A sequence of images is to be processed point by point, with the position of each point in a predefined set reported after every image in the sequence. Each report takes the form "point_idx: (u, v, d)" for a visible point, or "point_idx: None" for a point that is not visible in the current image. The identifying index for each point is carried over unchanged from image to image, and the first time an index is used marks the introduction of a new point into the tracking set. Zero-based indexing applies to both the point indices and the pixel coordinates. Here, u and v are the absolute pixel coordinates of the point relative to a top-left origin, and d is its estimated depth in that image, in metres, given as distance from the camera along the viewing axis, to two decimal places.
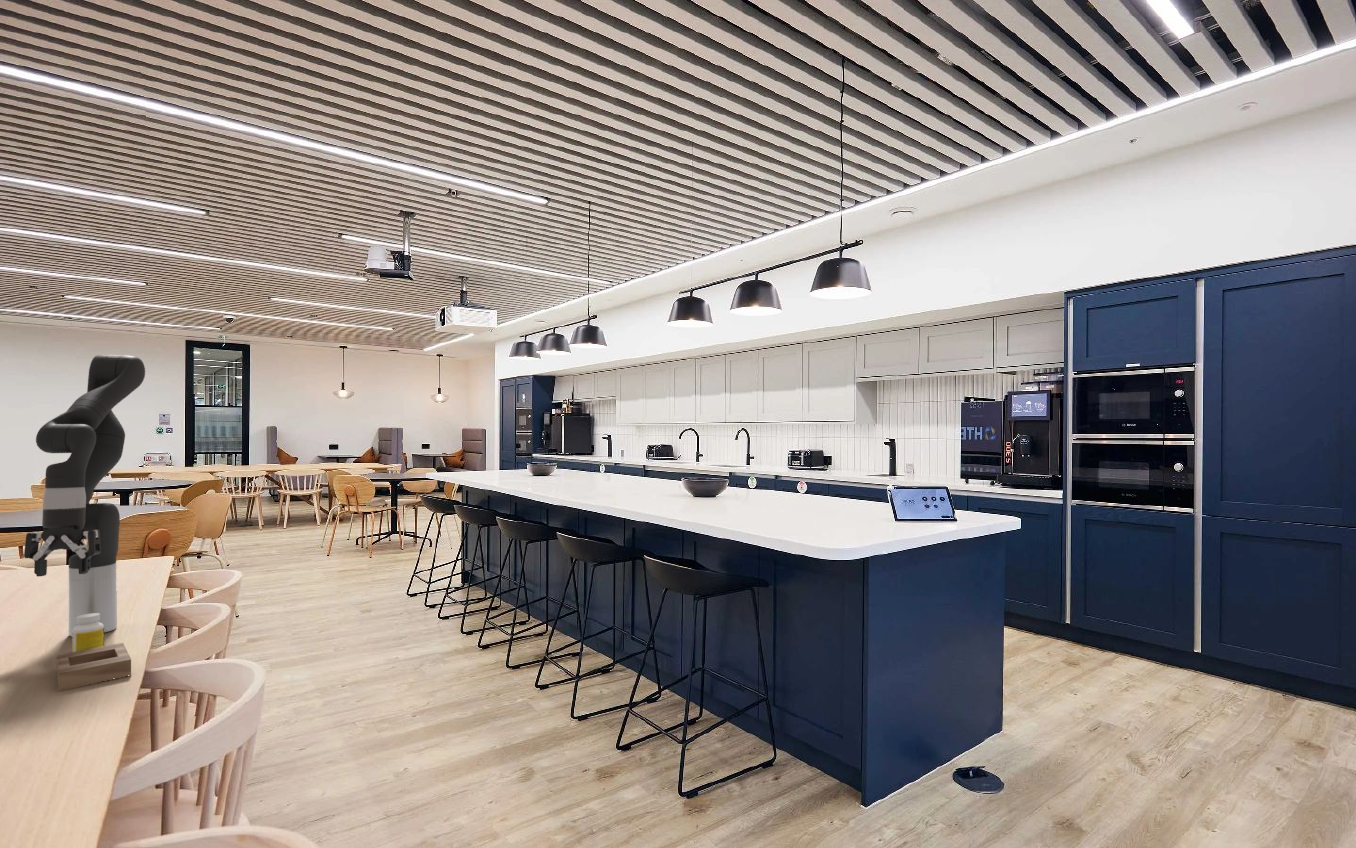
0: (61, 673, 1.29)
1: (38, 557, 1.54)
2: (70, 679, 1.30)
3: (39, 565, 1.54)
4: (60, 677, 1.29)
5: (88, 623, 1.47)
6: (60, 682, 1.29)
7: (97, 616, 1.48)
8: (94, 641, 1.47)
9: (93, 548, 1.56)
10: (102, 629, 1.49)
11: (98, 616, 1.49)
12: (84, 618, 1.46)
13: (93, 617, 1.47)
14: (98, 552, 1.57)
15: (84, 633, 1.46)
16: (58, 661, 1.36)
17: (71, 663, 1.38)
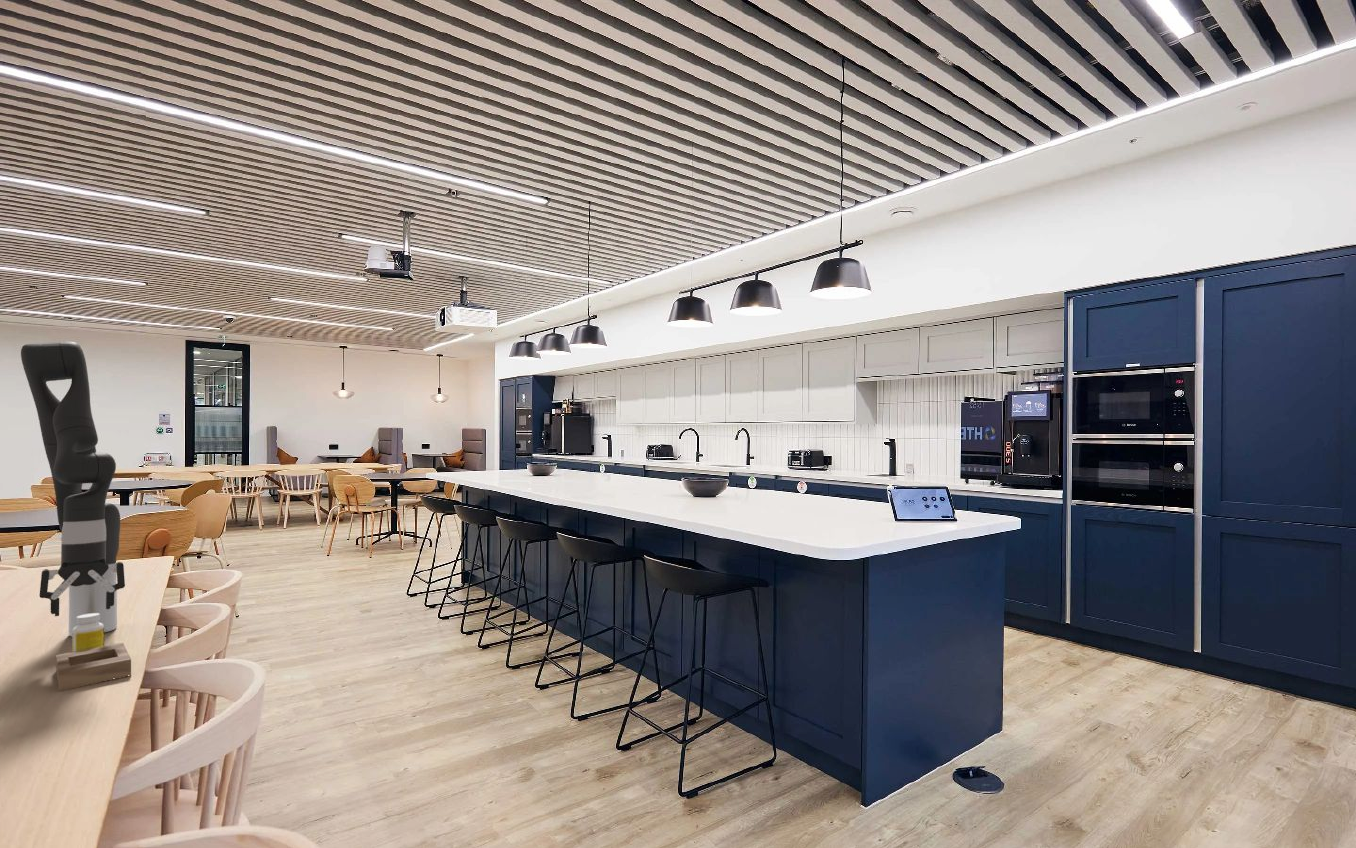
0: (61, 673, 1.29)
1: None
2: (70, 679, 1.30)
3: None
4: (60, 677, 1.29)
5: (87, 623, 1.47)
6: (60, 682, 1.29)
7: (97, 616, 1.48)
8: (94, 641, 1.47)
9: None
10: (102, 629, 1.49)
11: (98, 616, 1.49)
12: (84, 618, 1.46)
13: (93, 617, 1.47)
14: None
15: (84, 633, 1.46)
16: (58, 661, 1.36)
17: (71, 663, 1.38)
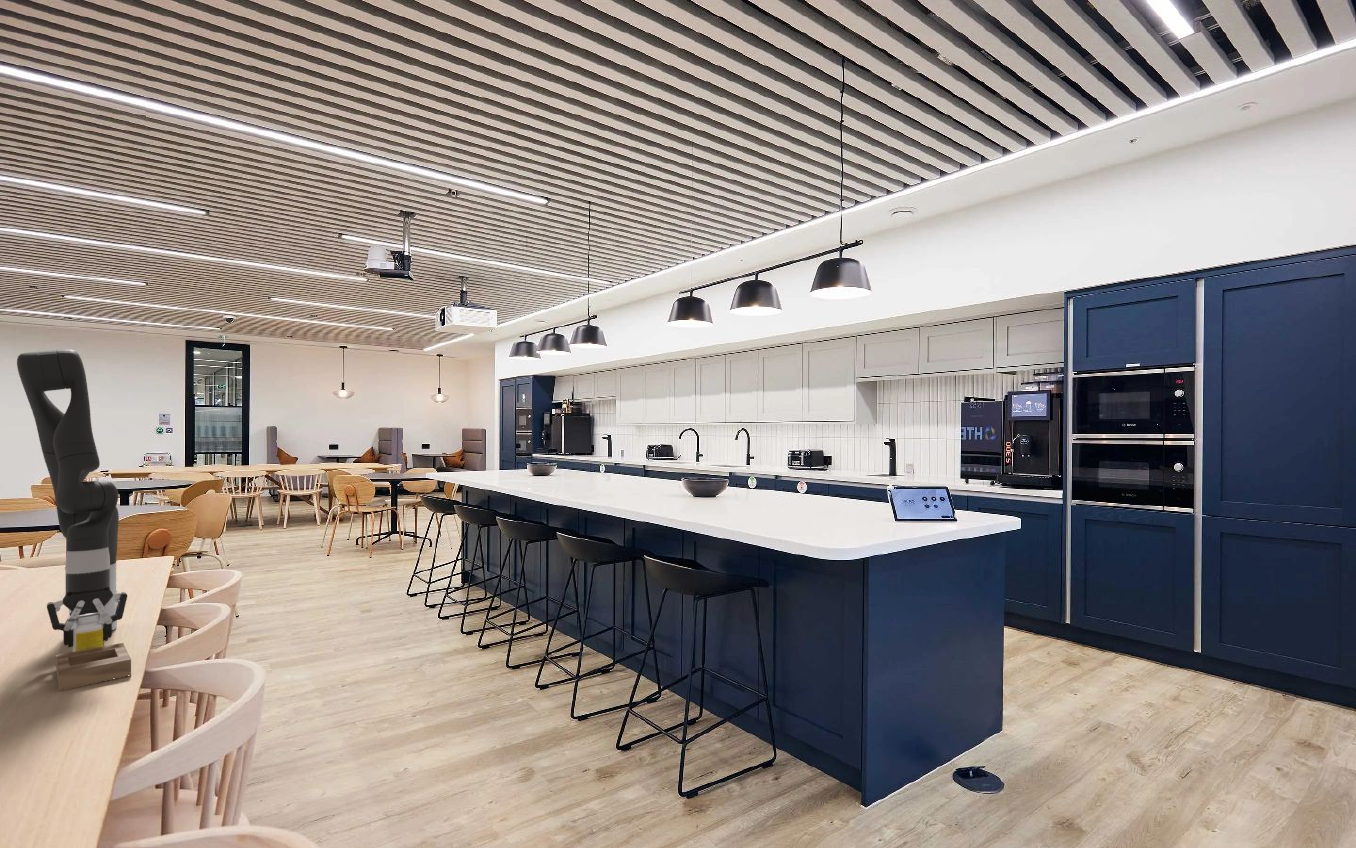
0: (61, 673, 1.29)
1: None
2: (70, 679, 1.30)
3: None
4: (60, 677, 1.29)
5: (87, 623, 1.47)
6: (60, 682, 1.29)
7: (97, 616, 1.48)
8: (94, 641, 1.47)
9: None
10: (102, 629, 1.49)
11: (98, 616, 1.49)
12: (84, 618, 1.46)
13: (93, 617, 1.47)
14: (53, 628, 1.44)
15: (84, 633, 1.46)
16: (58, 661, 1.36)
17: (71, 663, 1.38)
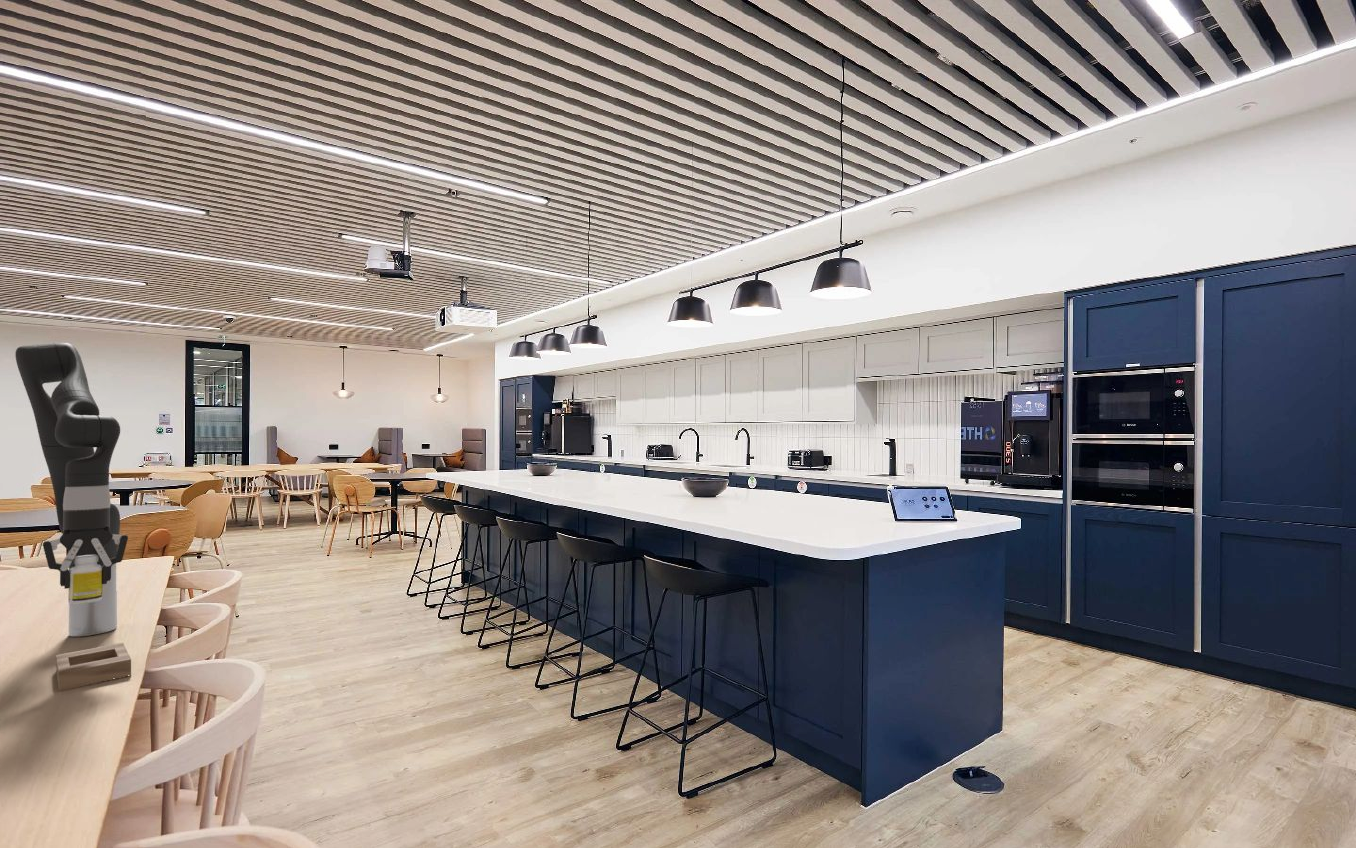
0: (61, 673, 1.29)
1: None
2: (70, 679, 1.30)
3: None
4: (60, 677, 1.29)
5: (85, 564, 1.39)
6: (60, 682, 1.29)
7: (95, 557, 1.40)
8: (92, 583, 1.39)
9: None
10: (101, 571, 1.41)
11: (97, 557, 1.41)
12: (81, 558, 1.38)
13: (91, 557, 1.40)
14: (49, 567, 1.36)
15: (82, 573, 1.38)
16: (58, 661, 1.36)
17: (71, 663, 1.38)
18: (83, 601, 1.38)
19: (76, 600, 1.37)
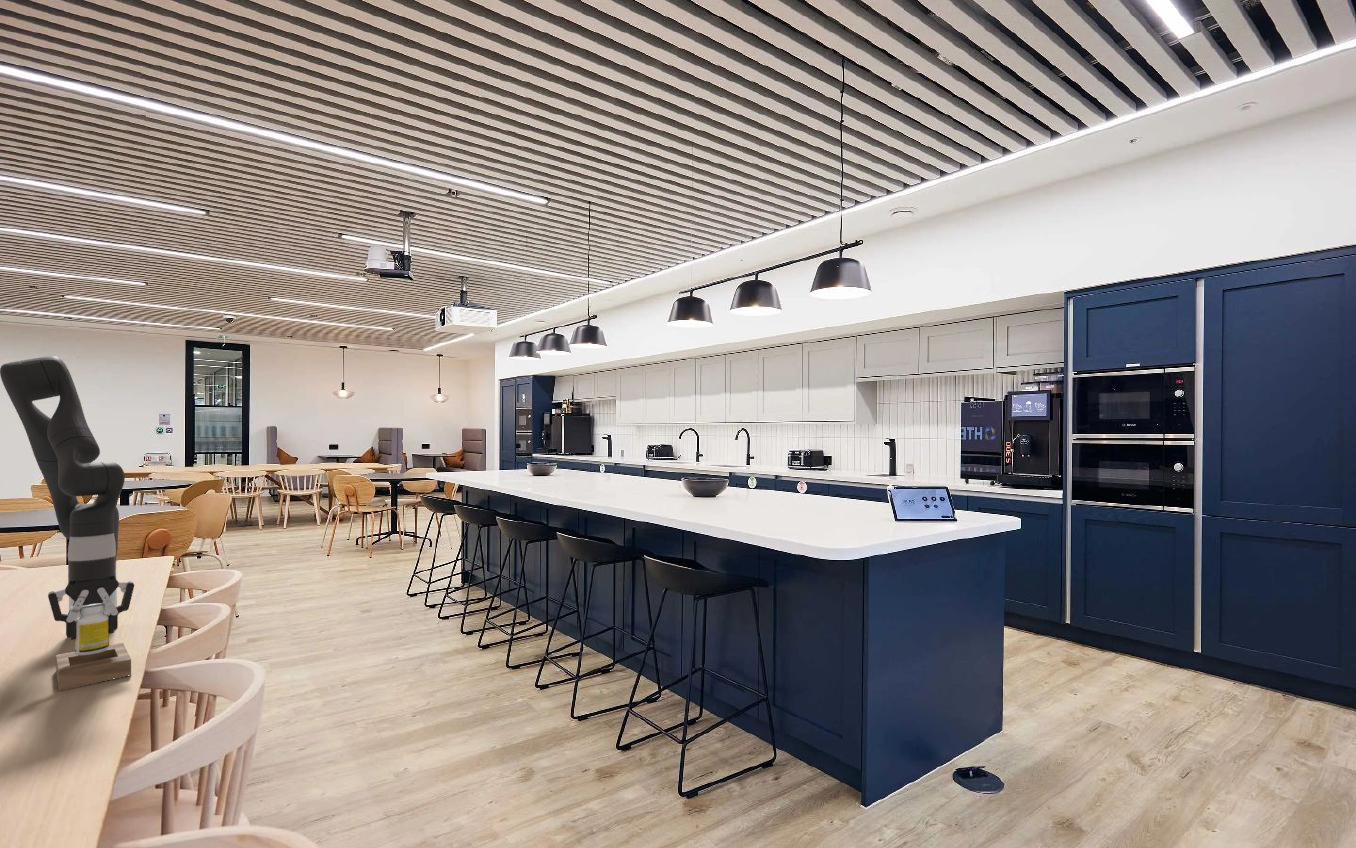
0: (61, 673, 1.29)
1: None
2: (70, 679, 1.30)
3: None
4: (60, 677, 1.29)
5: (92, 614, 1.37)
6: (60, 682, 1.29)
7: (102, 606, 1.38)
8: (99, 633, 1.37)
9: None
10: (107, 620, 1.39)
11: (103, 606, 1.39)
12: (88, 609, 1.36)
13: (98, 607, 1.37)
14: (55, 619, 1.34)
15: (88, 624, 1.36)
16: (58, 661, 1.36)
17: (71, 663, 1.38)
18: (90, 652, 1.36)
19: (83, 651, 1.35)
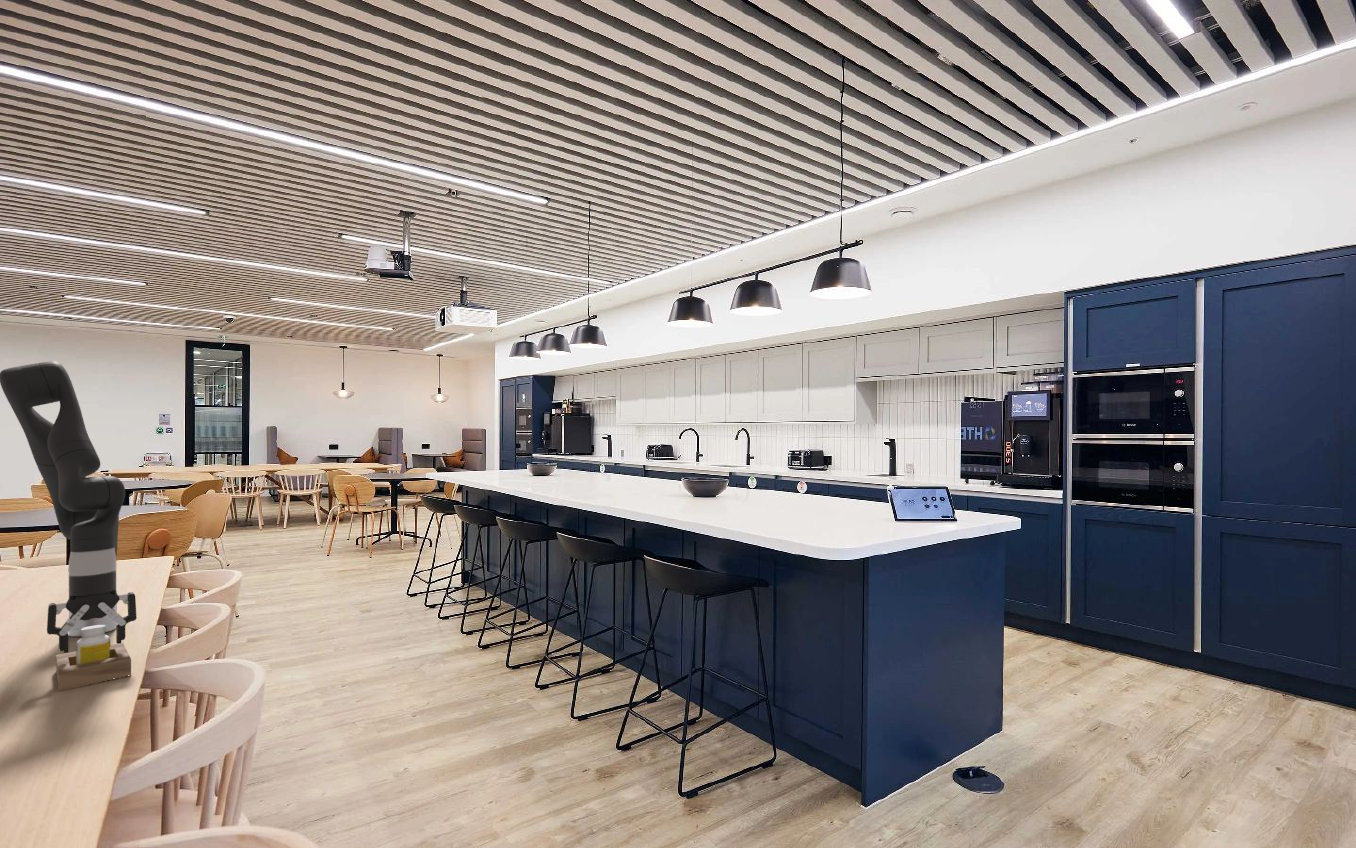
0: (61, 673, 1.29)
1: None
2: (70, 679, 1.30)
3: None
4: (60, 677, 1.29)
5: (93, 636, 1.37)
6: (60, 682, 1.29)
7: (103, 628, 1.38)
8: (100, 655, 1.37)
9: None
10: (108, 642, 1.39)
11: (104, 628, 1.39)
12: (89, 631, 1.36)
13: (99, 629, 1.38)
14: None
15: (89, 646, 1.36)
16: (58, 661, 1.36)
17: (71, 663, 1.38)
18: None
19: None
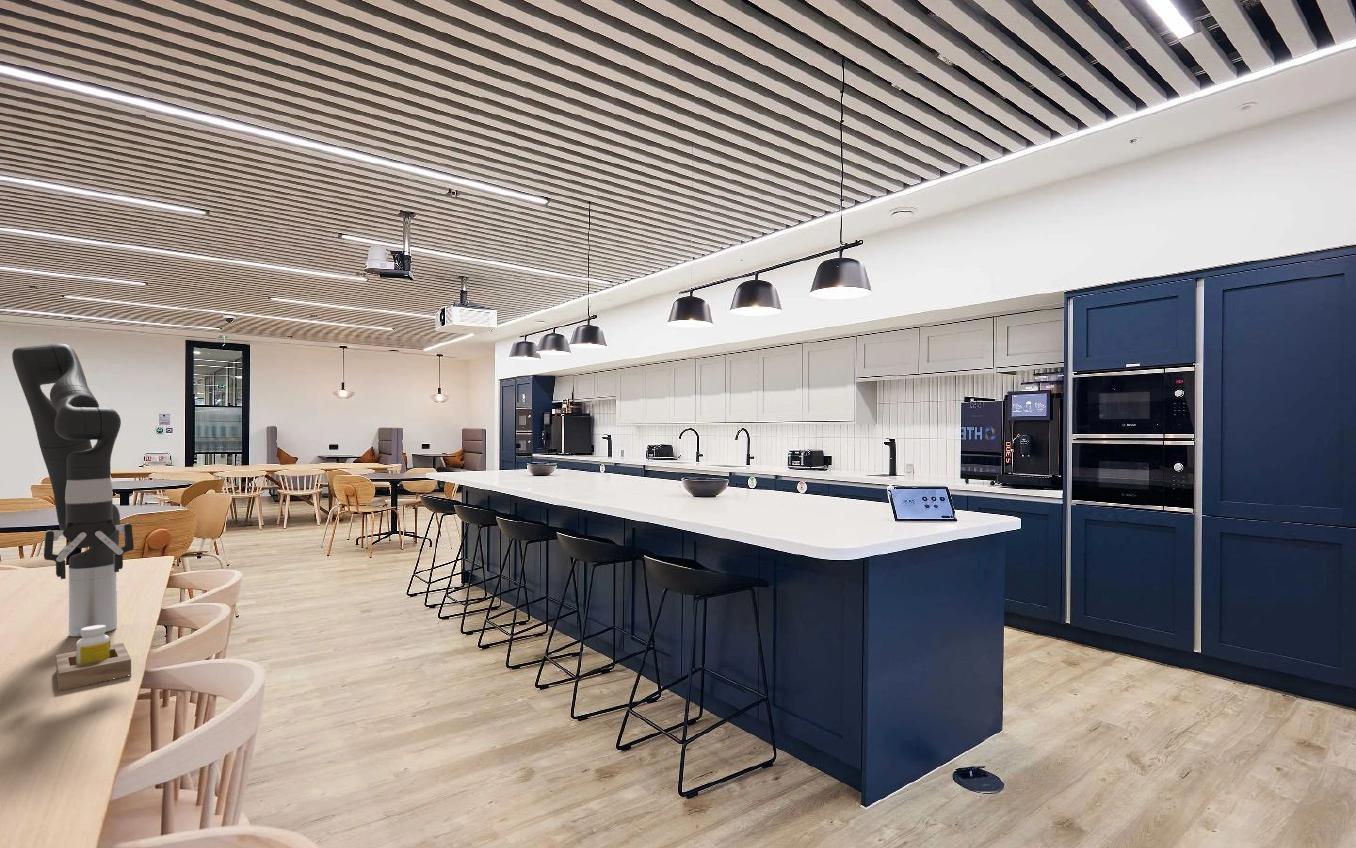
0: (61, 673, 1.29)
1: None
2: (70, 679, 1.30)
3: None
4: (60, 677, 1.29)
5: (93, 636, 1.37)
6: (60, 682, 1.29)
7: (103, 628, 1.38)
8: (100, 655, 1.37)
9: None
10: (108, 642, 1.39)
11: (104, 628, 1.39)
12: (89, 631, 1.36)
13: (99, 629, 1.38)
14: None
15: (89, 646, 1.36)
16: (58, 661, 1.36)
17: (71, 663, 1.38)
18: None
19: None
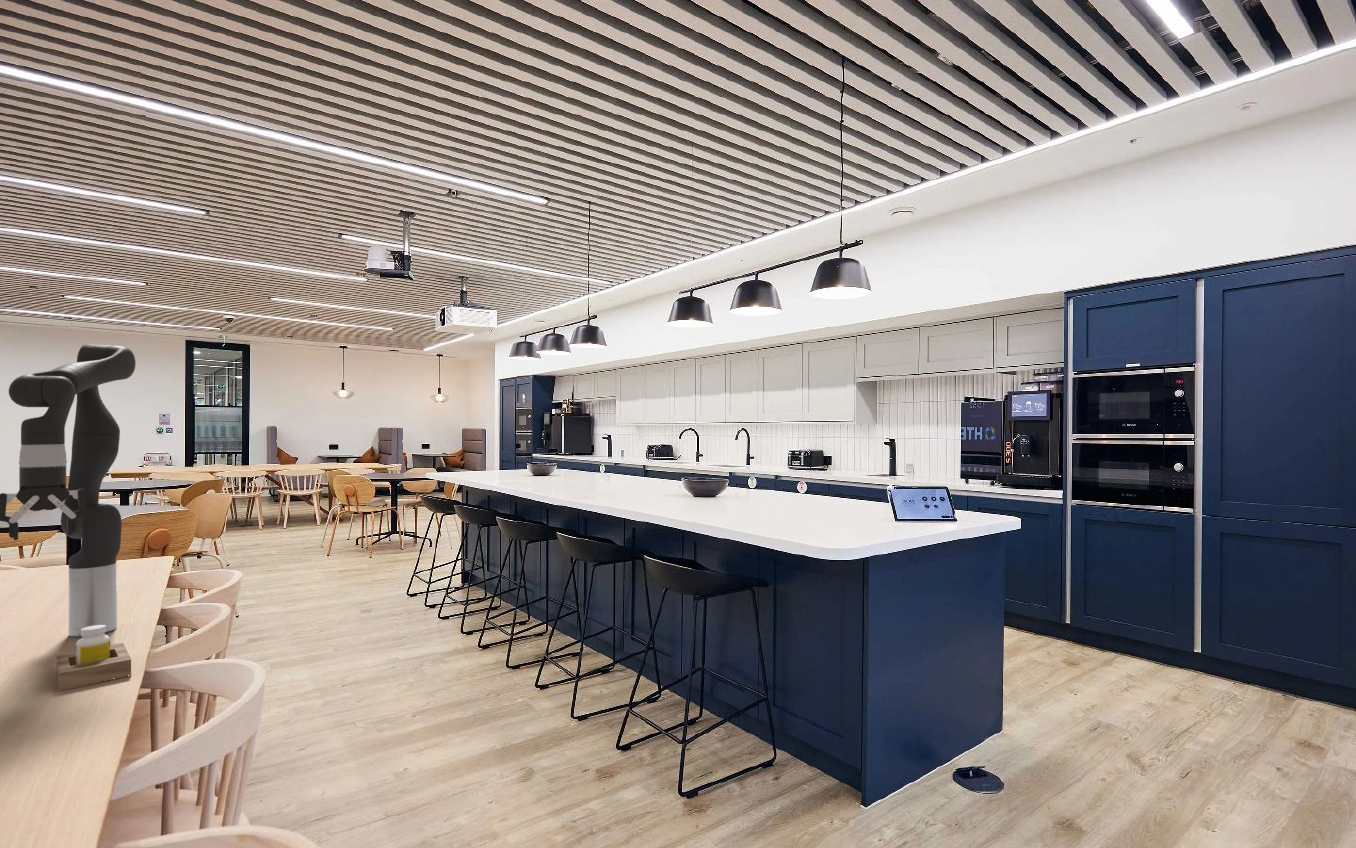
0: (61, 673, 1.29)
1: None
2: (70, 679, 1.30)
3: None
4: (60, 677, 1.29)
5: (93, 636, 1.37)
6: (60, 682, 1.29)
7: (103, 628, 1.38)
8: (100, 655, 1.37)
9: None
10: (108, 642, 1.39)
11: (104, 628, 1.39)
12: (88, 631, 1.36)
13: (98, 629, 1.38)
14: None
15: (89, 646, 1.36)
16: (58, 661, 1.36)
17: (71, 663, 1.38)
18: None
19: None
